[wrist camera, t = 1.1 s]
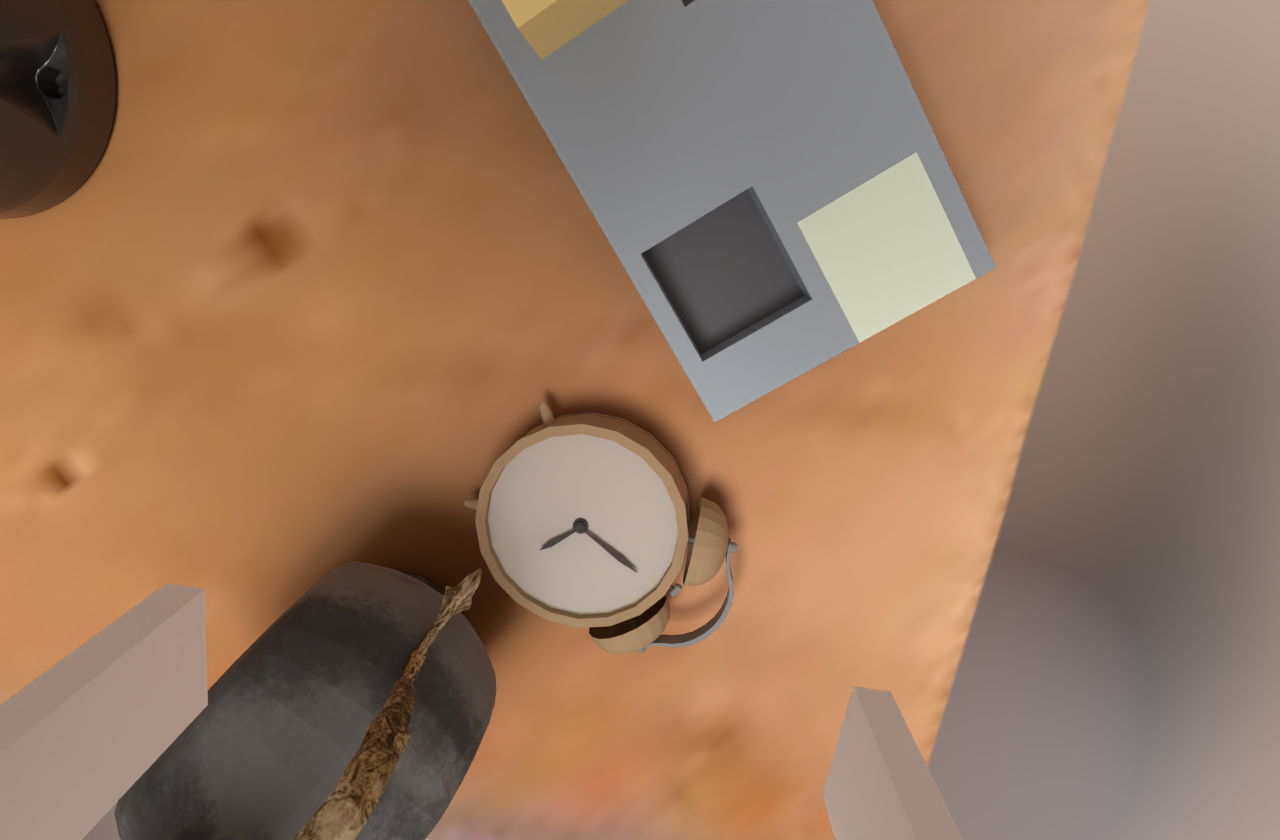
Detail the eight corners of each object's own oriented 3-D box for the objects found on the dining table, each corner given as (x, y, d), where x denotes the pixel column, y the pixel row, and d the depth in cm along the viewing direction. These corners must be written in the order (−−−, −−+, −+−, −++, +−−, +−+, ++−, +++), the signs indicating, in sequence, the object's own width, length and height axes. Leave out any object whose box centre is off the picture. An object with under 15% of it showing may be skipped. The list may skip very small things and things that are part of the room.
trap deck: (436, -62, 32) (417, -85, 30) (721, -275, 29) (726, -318, 27) (711, 410, 37) (714, 422, 35) (974, 265, 35) (996, 267, 32)
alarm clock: (554, 374, 34) (788, 572, 34) (581, 367, 39) (786, 540, 38) (430, 535, 37) (645, 722, 36) (469, 510, 42) (660, 674, 41)
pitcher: (254, 652, 43) (-636, 1544, 14) (449, 438, 38) (-234, 1072, 9) (391, 759, 44) (-142, 1760, 15) (594, 565, 40) (389, 1437, 11)
